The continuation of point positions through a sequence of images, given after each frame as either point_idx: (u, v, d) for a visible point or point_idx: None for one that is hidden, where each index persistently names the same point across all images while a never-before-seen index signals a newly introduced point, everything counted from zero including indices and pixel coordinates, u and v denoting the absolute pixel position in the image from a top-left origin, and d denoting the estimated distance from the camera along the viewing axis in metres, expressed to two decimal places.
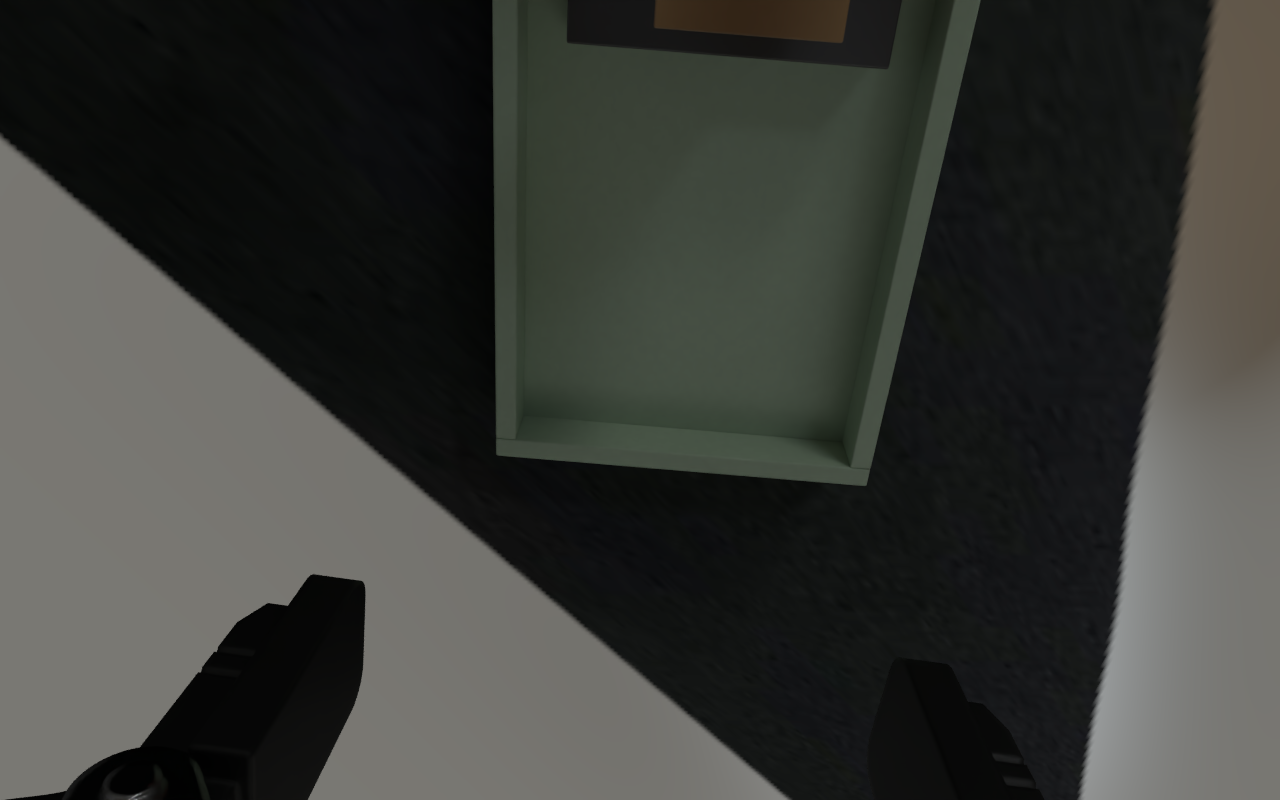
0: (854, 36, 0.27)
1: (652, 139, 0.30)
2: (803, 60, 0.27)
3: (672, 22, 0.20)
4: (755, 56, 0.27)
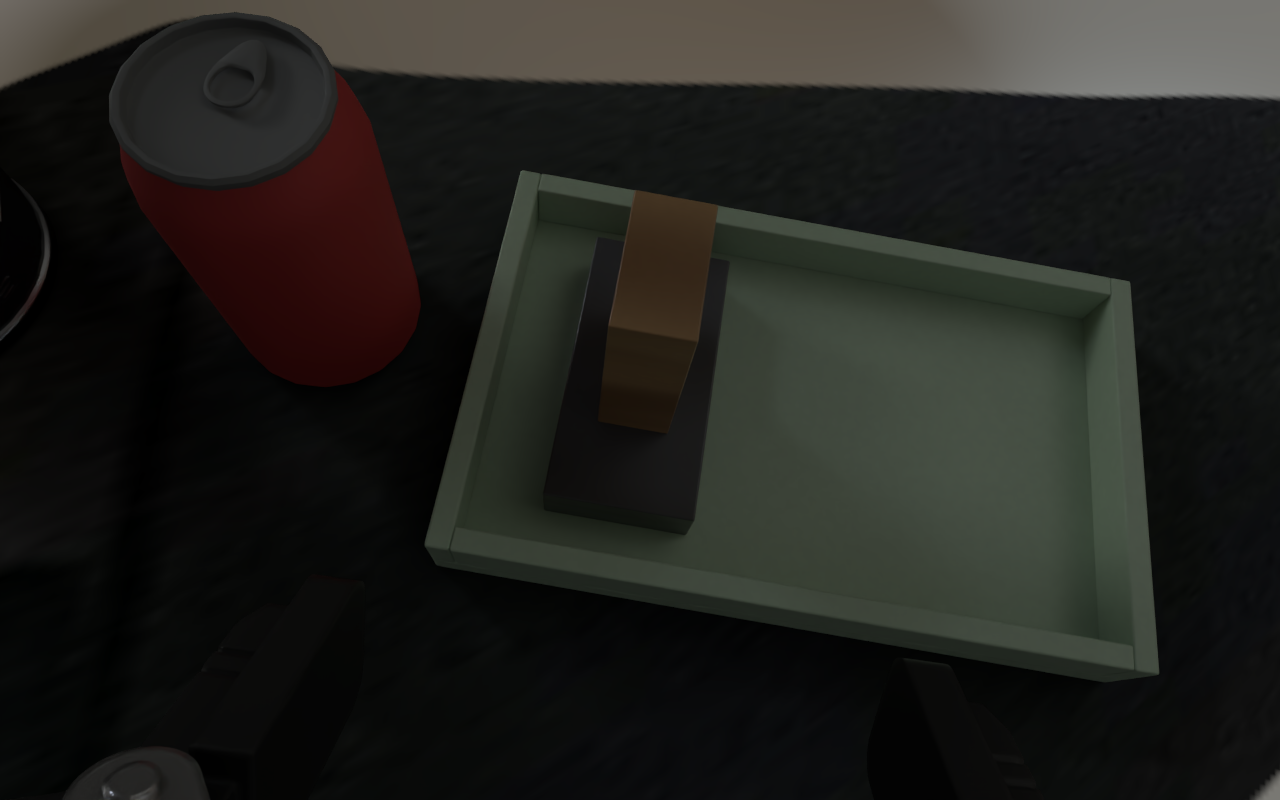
0: None
1: (782, 473, 0.31)
2: (719, 323, 0.31)
3: (694, 327, 0.23)
4: (714, 360, 0.30)
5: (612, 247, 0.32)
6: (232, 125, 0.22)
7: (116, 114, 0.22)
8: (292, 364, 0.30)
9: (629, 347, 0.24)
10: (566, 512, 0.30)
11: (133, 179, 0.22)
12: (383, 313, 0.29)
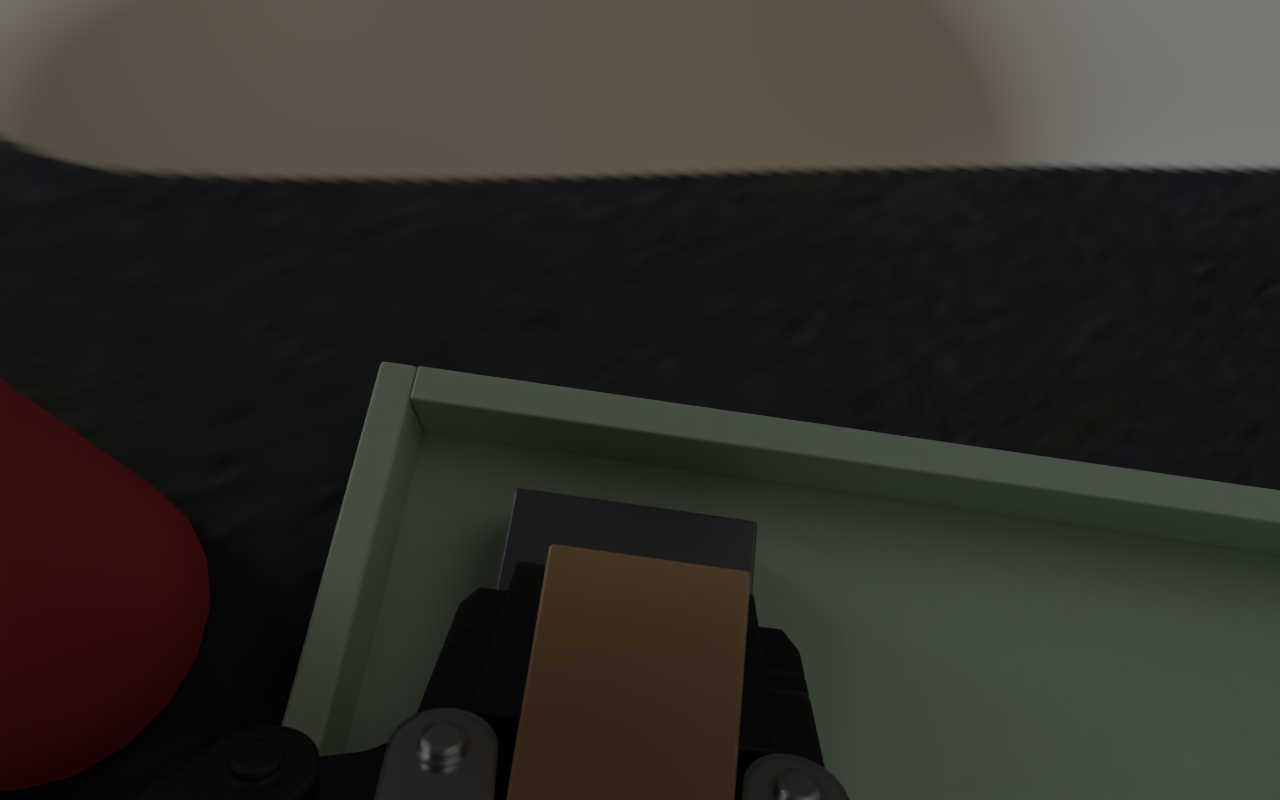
0: None
1: None
2: None
3: None
4: None
5: (544, 507, 0.18)
6: None
7: None
8: None
9: None
10: None
11: None
12: (86, 694, 0.15)
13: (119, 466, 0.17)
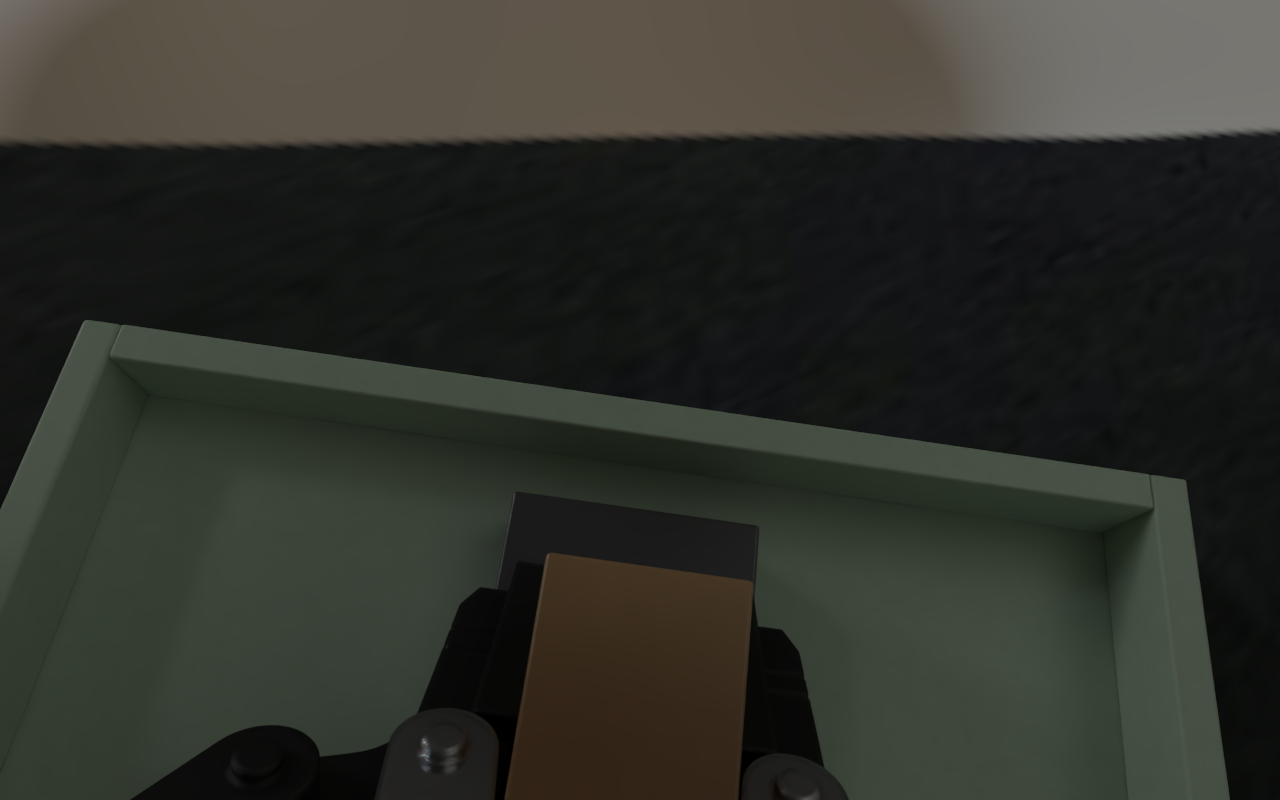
0: None
1: None
2: None
3: None
4: None
5: (543, 511, 0.17)
6: None
7: None
8: None
9: None
10: None
11: None
12: None
13: None
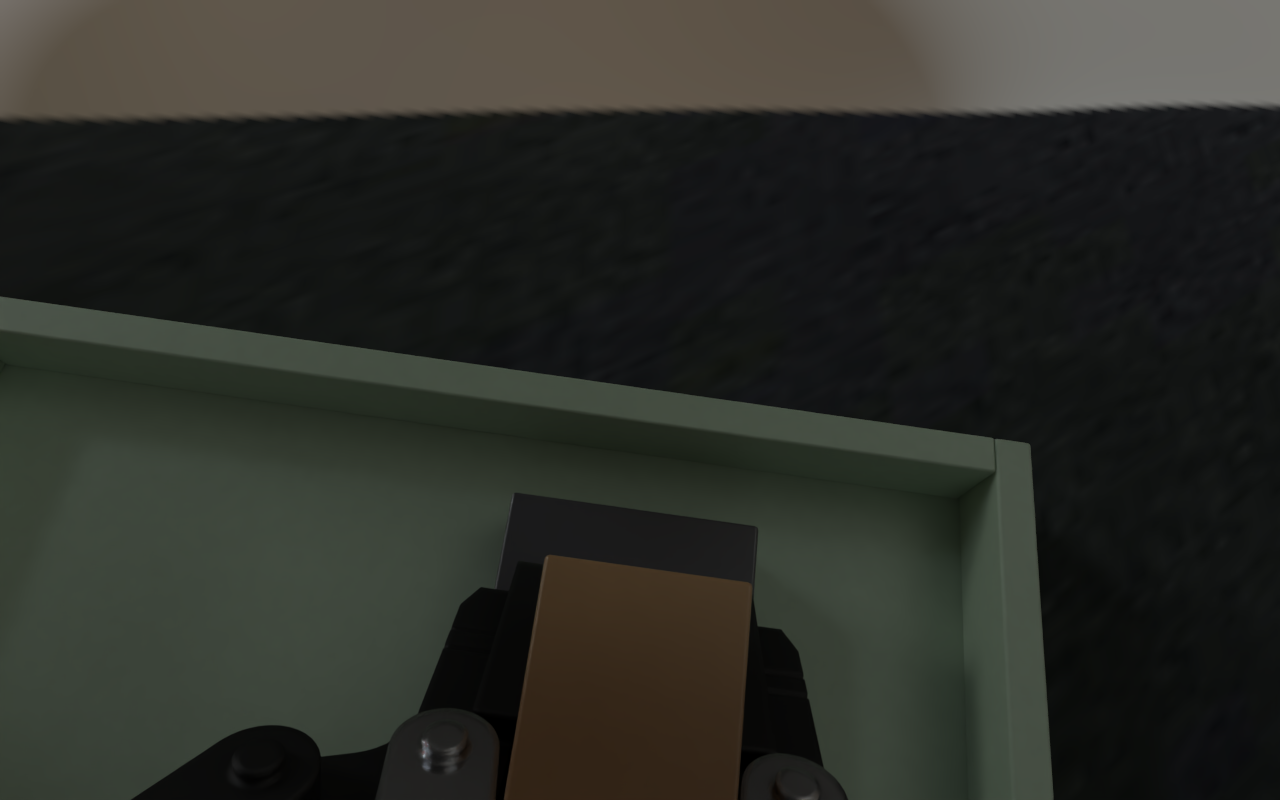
0: None
1: None
2: None
3: None
4: None
5: (542, 512, 0.17)
6: None
7: None
8: None
9: None
10: None
11: None
12: None
13: None
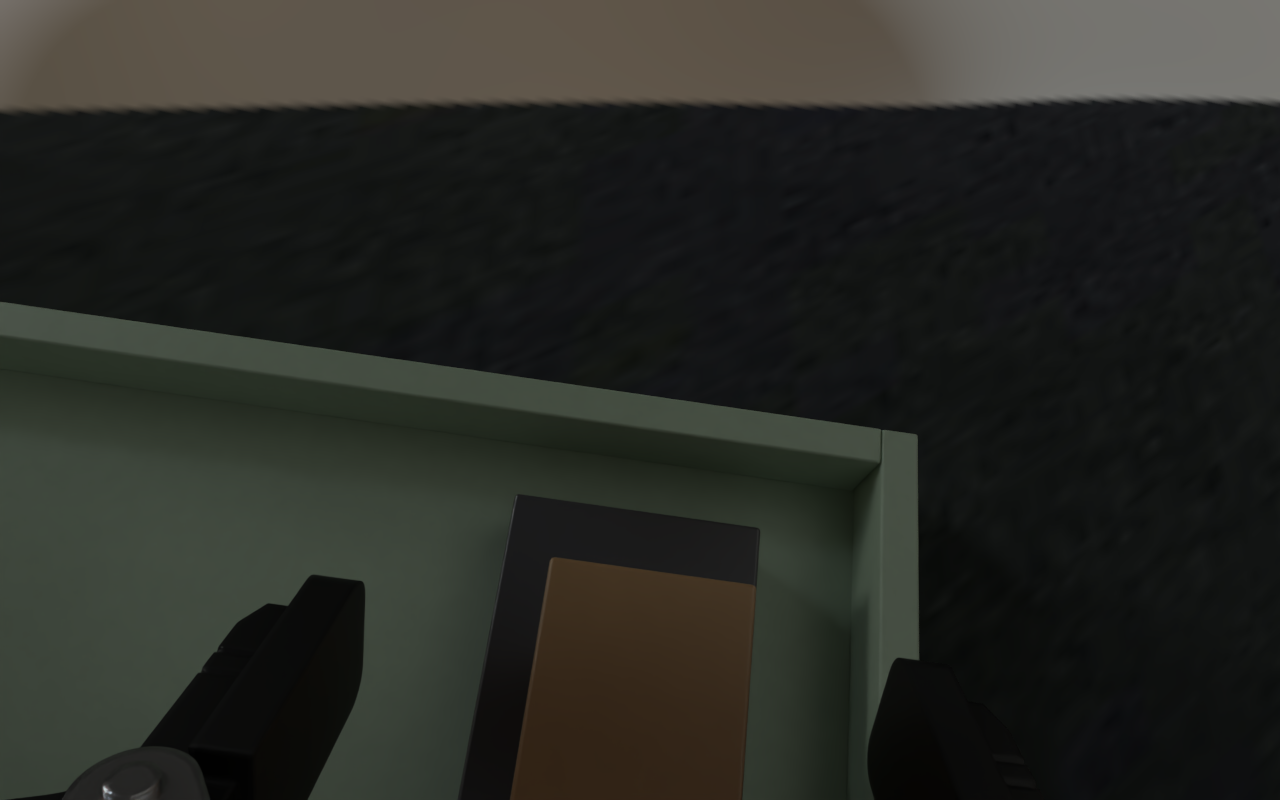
0: None
1: None
2: None
3: None
4: None
5: (544, 514, 0.17)
6: None
7: None
8: None
9: None
10: None
11: None
12: None
13: None
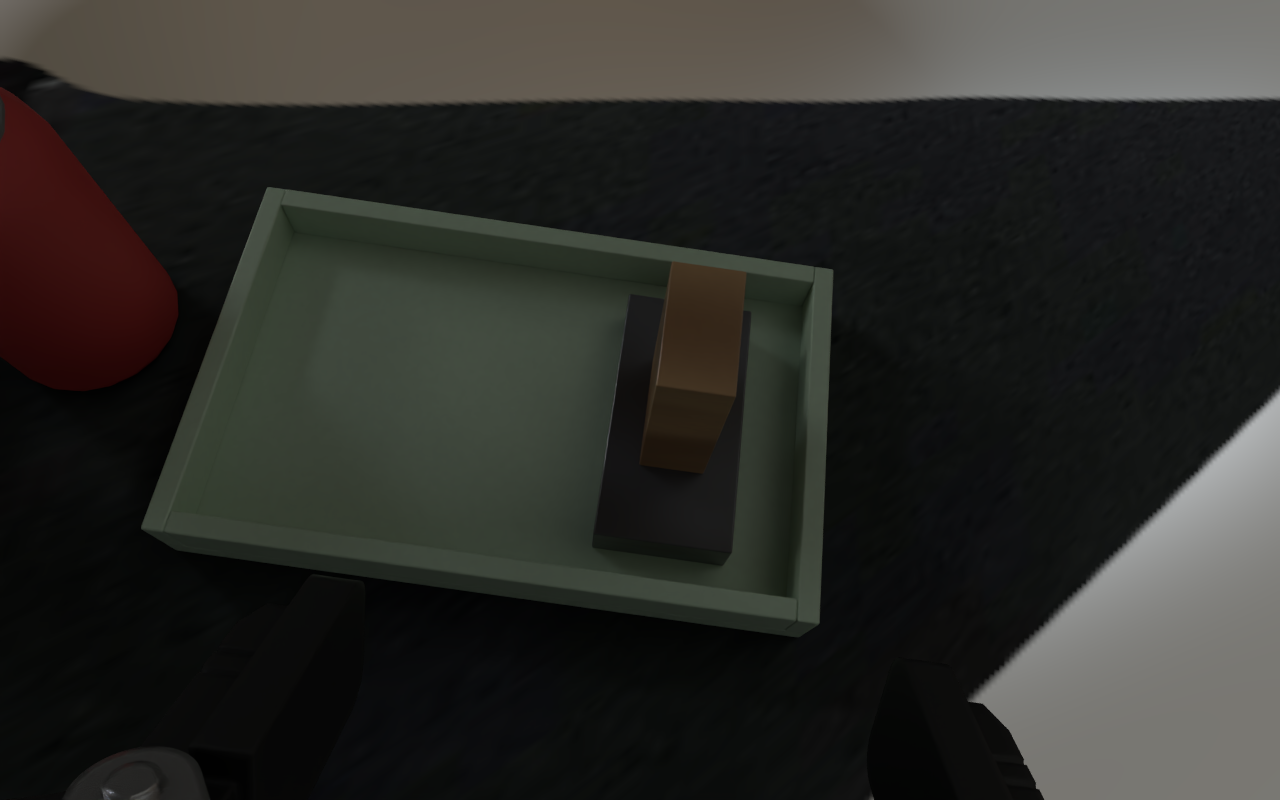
0: None
1: (502, 455, 0.34)
2: (745, 369, 0.34)
3: (732, 383, 0.26)
4: (742, 404, 0.33)
5: (644, 303, 0.35)
6: None
7: None
8: (37, 369, 0.32)
9: (674, 402, 0.27)
10: (613, 549, 0.32)
11: None
12: (116, 320, 0.32)
13: None
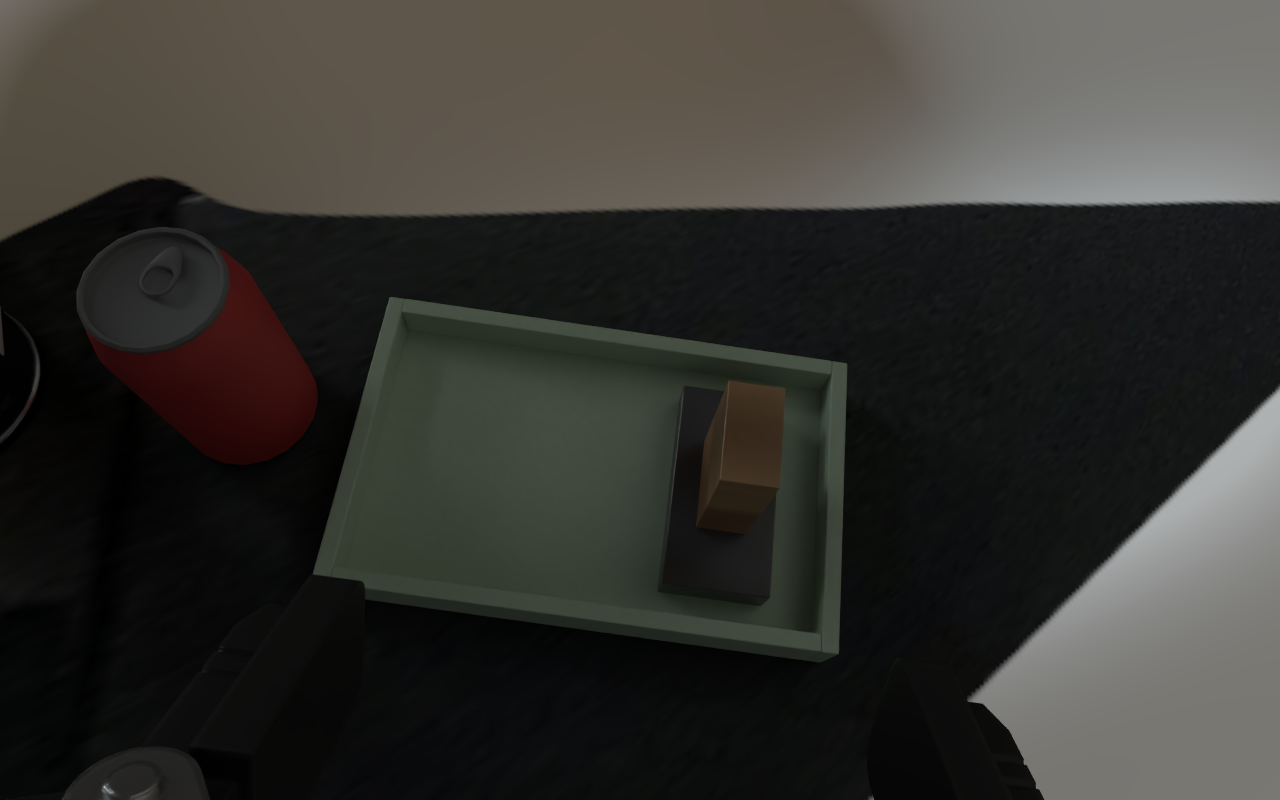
0: None
1: (583, 517, 0.42)
2: None
3: (776, 478, 0.34)
4: None
5: (696, 393, 0.43)
6: (159, 308, 0.33)
7: (81, 305, 0.33)
8: (217, 451, 0.41)
9: (731, 490, 0.35)
10: (674, 593, 0.41)
11: (94, 345, 0.34)
12: (282, 413, 0.40)
13: None
